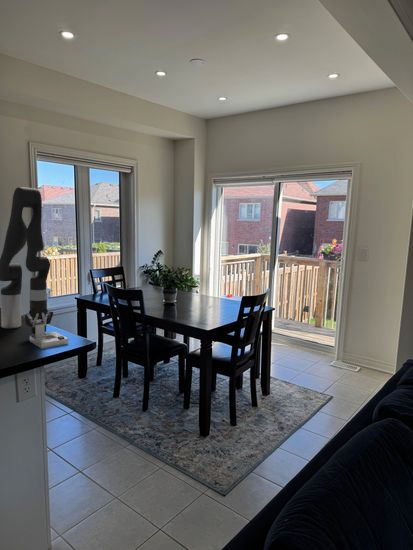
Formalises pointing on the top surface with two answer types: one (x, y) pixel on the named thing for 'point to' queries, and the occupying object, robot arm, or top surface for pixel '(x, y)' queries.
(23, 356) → the top surface
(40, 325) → the plug
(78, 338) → the top surface
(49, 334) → the socket
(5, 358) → the top surface
